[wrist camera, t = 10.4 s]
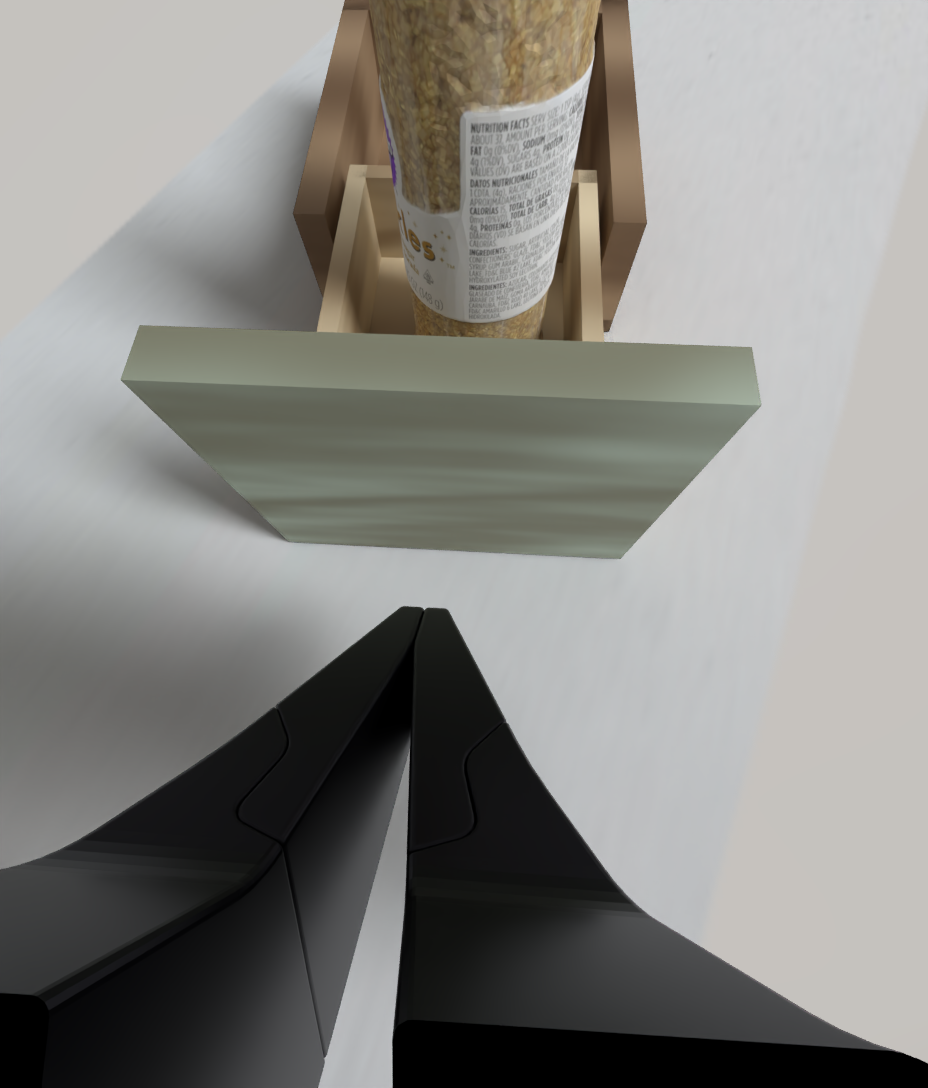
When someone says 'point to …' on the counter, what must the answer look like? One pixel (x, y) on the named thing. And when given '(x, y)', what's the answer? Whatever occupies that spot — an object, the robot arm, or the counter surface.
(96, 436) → the counter surface
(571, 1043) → the robot arm
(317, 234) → the walnut caddy
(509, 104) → the spice jar
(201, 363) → the drawer
